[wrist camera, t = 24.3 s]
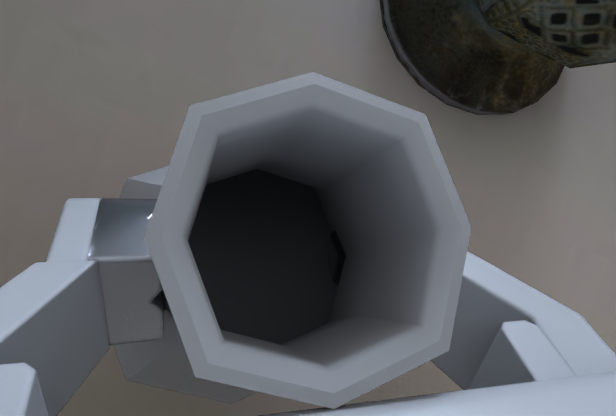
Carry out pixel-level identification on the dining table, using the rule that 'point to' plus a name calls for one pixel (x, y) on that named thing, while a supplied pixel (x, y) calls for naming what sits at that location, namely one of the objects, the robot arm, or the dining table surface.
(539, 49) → the lantern
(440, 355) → the robot arm
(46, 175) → the dining table surface
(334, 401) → the flask
